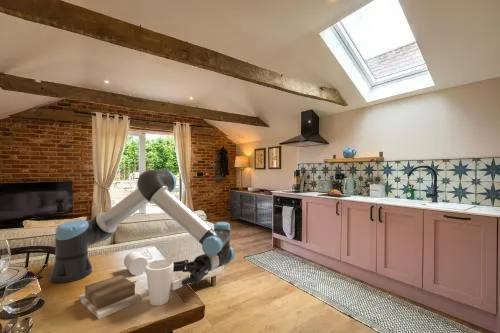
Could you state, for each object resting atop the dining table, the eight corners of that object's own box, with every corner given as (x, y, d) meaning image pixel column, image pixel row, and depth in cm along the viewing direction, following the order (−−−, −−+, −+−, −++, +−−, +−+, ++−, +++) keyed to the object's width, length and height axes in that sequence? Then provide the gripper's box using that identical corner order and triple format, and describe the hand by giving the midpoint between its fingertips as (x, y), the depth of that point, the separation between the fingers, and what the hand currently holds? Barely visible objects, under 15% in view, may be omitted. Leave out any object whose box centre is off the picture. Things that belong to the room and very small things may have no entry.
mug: (129, 277, 105) (129, 259, 105) (123, 270, 113) (123, 253, 113) (156, 270, 113) (157, 253, 113) (149, 264, 121) (150, 248, 121)
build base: (78, 300, 87) (79, 284, 87) (119, 285, 98) (119, 272, 98) (98, 319, 76) (98, 301, 76) (141, 300, 87) (141, 285, 87)
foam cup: (148, 311, 80) (149, 272, 81) (142, 299, 88) (143, 263, 88) (176, 302, 86) (177, 265, 86) (168, 291, 93) (169, 258, 94)
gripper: (227, 279, 96) (183, 302, 79) (187, 264, 112) (143, 280, 95) (227, 261, 96) (183, 279, 80) (187, 248, 112) (144, 261, 95)
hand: (161, 280), depth 87 cm, fingers open, 13 cm apart
